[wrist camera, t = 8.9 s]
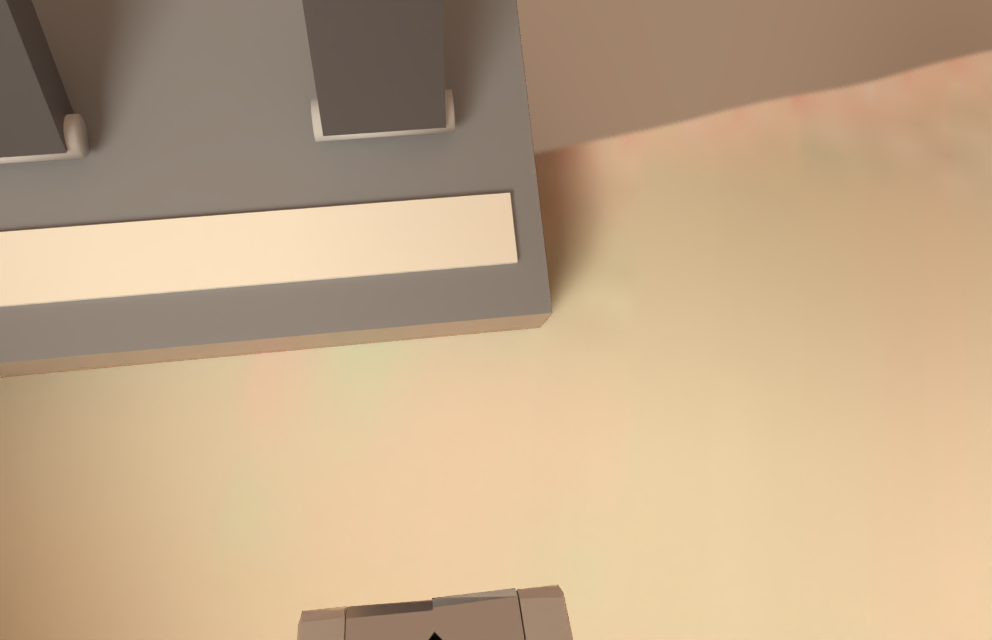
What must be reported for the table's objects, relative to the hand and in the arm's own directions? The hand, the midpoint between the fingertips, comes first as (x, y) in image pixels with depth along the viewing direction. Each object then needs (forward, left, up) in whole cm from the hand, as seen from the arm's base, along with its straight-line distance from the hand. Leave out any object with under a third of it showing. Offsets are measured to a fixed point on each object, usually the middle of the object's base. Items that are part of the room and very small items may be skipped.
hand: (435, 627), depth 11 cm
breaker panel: (+6, -15, -22) cm, 27 cm away
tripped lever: (0, -14, -18) cm, 23 cm away
